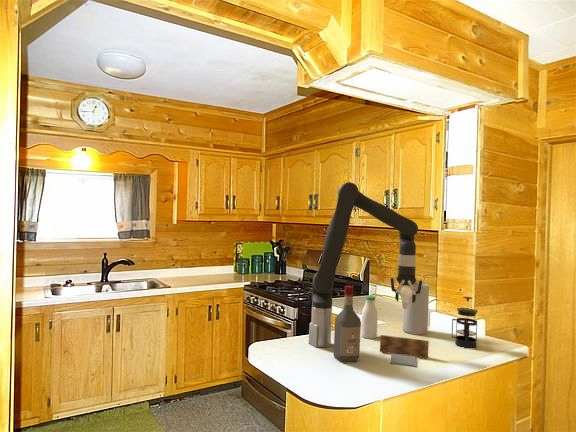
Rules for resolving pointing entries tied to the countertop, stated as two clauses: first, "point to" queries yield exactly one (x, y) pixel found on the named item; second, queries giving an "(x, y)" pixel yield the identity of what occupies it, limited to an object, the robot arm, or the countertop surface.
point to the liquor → (347, 331)
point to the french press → (466, 327)
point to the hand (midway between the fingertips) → (405, 301)
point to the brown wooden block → (404, 346)
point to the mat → (403, 360)
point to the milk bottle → (369, 319)
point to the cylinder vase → (417, 312)
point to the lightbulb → (405, 295)
